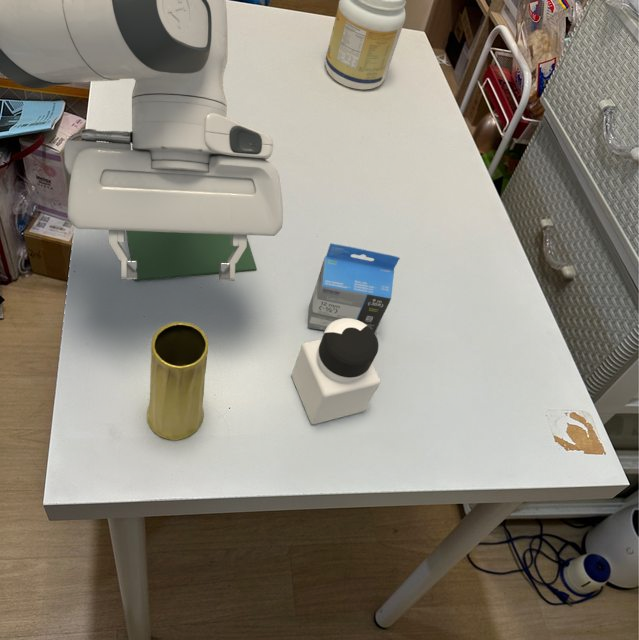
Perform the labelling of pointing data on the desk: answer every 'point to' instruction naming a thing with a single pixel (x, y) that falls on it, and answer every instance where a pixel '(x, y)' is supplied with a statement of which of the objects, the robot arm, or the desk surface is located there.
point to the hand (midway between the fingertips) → (179, 279)
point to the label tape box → (352, 287)
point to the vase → (177, 380)
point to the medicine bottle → (337, 371)
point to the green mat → (183, 254)
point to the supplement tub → (364, 41)
